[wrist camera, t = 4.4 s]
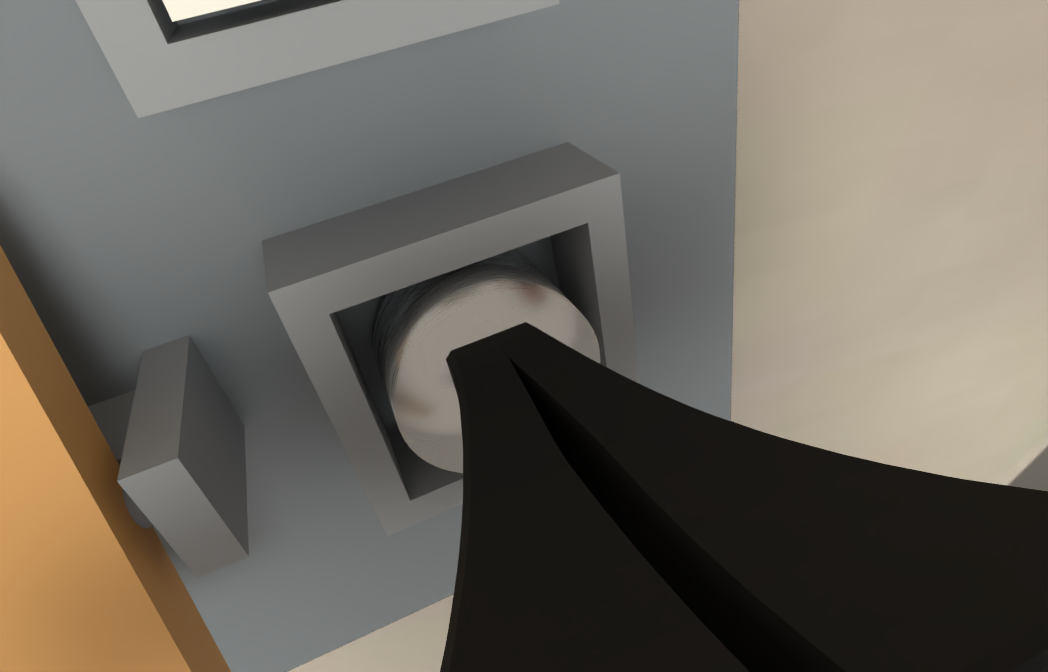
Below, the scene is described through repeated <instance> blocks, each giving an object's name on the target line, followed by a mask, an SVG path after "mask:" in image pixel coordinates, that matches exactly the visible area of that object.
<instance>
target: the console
mask: <svg viewBox="0 0 1048 672" xmlns="http://www.w3.org/2000/svg"><path fill="white" fill-rule="evenodd" d="M738 24H739V0H260V1H256V2H252V3H248V4H244V5H240V6H236V7H231V8H227V9H223V10H219V11H215V12H211V13H207V14H203V15H199V16H195V17H190V18H186V19H182V20H178V21H174V22H172V20H171V18H170V16H169V13H168V11H167V9H166V7H165V5H164V3H163V0H0V245H1V247H2V249H3V251H4V253H5V255H6V257H7V258H8V260H9V262H10V264H11V266H12V268H13V269H14V271H15V273H16V275H17V277H18V279H19V281H20V282H21V284H22V286H23V288H24V290H25V292H26V293H27V295H28V297H29V299H30V301H31V303H32V305H33V306H34V308H35V310H36V312H37V314H38V316H39V317H40V319H41V321H42V323H43V325H44V327H45V329H46V330H47V332H48V334H49V336H50V338H51V340H52V342H53V343H54V345H55V347H56V349H57V351H58V353H59V354H60V356H61V358H62V360H63V362H64V364H65V366H66V367H67V369H68V371H69V373H70V375H71V377H72V378H73V380H74V382H75V384H76V386H77V388H78V390H79V391H80V393H81V395H82V397H83V399H84V401H85V402H86V404H87V406H88V408H89V410H90V412H91V414H92V415H93V417H94V419H95V421H96V423H97V425H98V426H99V428H100V430H101V432H102V434H103V436H104V438H105V439H106V441H107V443H108V445H109V447H110V449H111V451H112V452H113V454H114V456H115V458H116V460H117V462H118V463H119V465H120V469H119V474H118V479H117V482H118V483H119V484H120V486H121V487H122V488H123V489H124V490H125V492H126V493H127V494H128V495H129V496H130V498H131V499H132V500H133V501H134V502H135V504H136V505H137V506H138V507H139V508H140V510H141V511H142V512H143V513H144V514H145V516H146V517H147V518H148V519H149V520H150V522H151V523H152V524H153V525H154V526H153V528H154V530H155V532H156V534H157V535H158V537H159V539H160V541H161V543H162V545H163V547H164V548H165V550H166V552H167V554H168V556H169V558H170V560H171V561H172V563H173V565H174V567H175V569H176V571H177V572H178V574H179V576H180V578H181V580H182V582H183V584H184V585H185V587H186V589H187V591H188V593H189V595H190V596H191V598H192V600H193V602H194V604H195V606H196V608H197V609H198V611H199V613H200V615H201V617H202V619H203V620H204V622H205V624H206V626H207V628H208V630H209V632H210V633H211V635H212V637H213V639H214V641H215V643H216V644H217V646H218V648H219V650H220V652H221V654H222V656H223V657H224V659H225V661H226V663H227V665H228V667H229V669H230V670H231V672H287V671H290V670H292V669H294V668H296V667H298V666H300V665H302V664H305V663H307V662H309V661H311V660H313V659H315V658H317V657H320V656H322V655H324V654H326V653H328V652H330V651H332V650H335V649H337V648H339V647H341V646H343V645H345V644H347V643H350V642H352V641H354V640H356V639H358V638H360V637H363V636H365V635H367V634H369V633H371V632H373V631H375V630H378V629H380V628H382V627H384V626H386V625H388V624H390V623H393V622H395V621H397V620H399V619H401V618H403V617H405V616H408V615H410V614H412V613H414V612H416V611H418V610H420V609H423V608H425V607H427V606H429V605H431V604H433V603H435V602H438V601H440V600H442V599H444V598H446V597H448V596H450V595H453V594H454V589H455V581H456V574H457V567H458V558H459V547H460V536H461V523H462V506H463V473H458V472H452V471H448V470H444V469H441V468H438V467H436V466H434V465H432V464H430V463H428V462H426V461H425V460H423V459H422V458H420V457H419V456H418V455H417V454H416V453H415V452H414V451H412V450H411V448H410V447H409V446H408V444H407V443H406V442H405V440H404V438H403V437H402V435H401V433H400V431H399V428H398V425H397V422H396V419H395V416H394V413H393V411H392V408H391V405H390V402H389V399H388V396H387V393H386V391H385V388H384V385H383V382H382V379H381V376H380V373H379V370H378V368H377V364H376V361H375V358H374V352H373V330H374V324H375V320H376V317H377V314H378V311H379V309H380V307H381V305H382V303H383V301H384V299H385V297H386V296H387V294H388V293H391V292H394V291H396V290H399V289H402V288H405V287H408V286H410V285H413V284H416V283H419V282H422V281H425V280H427V279H430V278H433V277H436V276H439V275H442V274H444V273H447V272H450V271H453V270H456V269H459V268H461V267H464V266H467V265H470V264H473V263H475V262H478V261H481V260H484V259H487V258H490V257H492V256H495V255H498V254H501V253H504V252H507V251H509V250H514V251H516V252H519V253H520V254H522V255H524V256H525V257H527V258H528V259H530V260H531V261H532V262H533V263H534V264H536V265H537V267H538V268H539V269H540V270H541V271H542V272H543V273H544V274H545V275H546V276H547V277H548V278H549V279H550V280H551V281H552V282H553V284H554V285H555V286H556V287H557V288H558V289H559V290H560V291H561V292H562V293H563V294H564V295H565V296H566V297H567V298H568V299H569V301H570V302H571V303H572V304H573V305H574V306H575V307H576V308H577V309H578V310H579V311H580V312H581V313H582V314H583V316H584V317H585V318H586V319H587V320H588V322H589V323H590V325H591V327H592V328H593V330H594V332H595V335H596V337H597V340H598V345H599V349H600V364H602V365H603V366H605V367H607V368H609V369H611V370H613V371H615V372H617V373H619V374H621V375H623V376H625V377H627V378H629V379H631V380H633V381H635V382H637V383H639V384H641V385H643V386H645V387H647V388H650V389H652V390H654V391H656V392H658V393H661V394H663V395H665V396H667V397H670V398H672V399H674V400H677V401H679V402H681V403H683V404H686V405H688V406H691V407H693V408H696V409H698V410H701V411H704V412H706V413H709V414H711V415H714V416H717V417H720V418H723V419H726V420H729V421H731V379H732V329H733V278H734V227H735V176H736V125H737V75H738Z"/></svg>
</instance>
